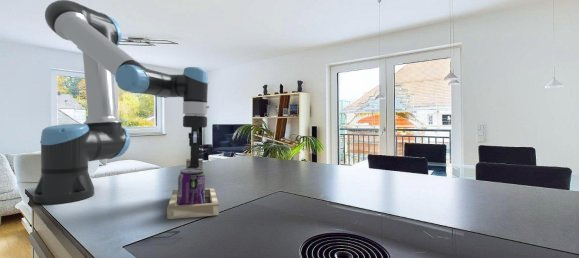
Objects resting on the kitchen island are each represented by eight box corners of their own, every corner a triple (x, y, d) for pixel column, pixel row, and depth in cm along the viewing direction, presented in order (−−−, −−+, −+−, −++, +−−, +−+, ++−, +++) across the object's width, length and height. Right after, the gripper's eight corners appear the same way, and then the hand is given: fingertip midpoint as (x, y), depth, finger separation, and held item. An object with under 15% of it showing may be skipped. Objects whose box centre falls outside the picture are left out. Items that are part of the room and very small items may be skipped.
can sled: (173, 197, 91) (173, 159, 90) (213, 194, 95) (214, 158, 95) (166, 219, 71) (167, 171, 71) (218, 215, 75) (219, 169, 75)
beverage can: (199, 217, 74) (200, 172, 74) (173, 216, 74) (174, 172, 74) (207, 208, 81) (208, 168, 81) (183, 208, 81) (184, 167, 81)
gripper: (208, 115, 84) (206, 191, 85) (206, 115, 100) (205, 180, 100) (181, 114, 82) (180, 193, 83) (184, 115, 97) (182, 181, 98)
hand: (194, 185), depth 91 cm, fingers closed on can sled, 3 cm apart
